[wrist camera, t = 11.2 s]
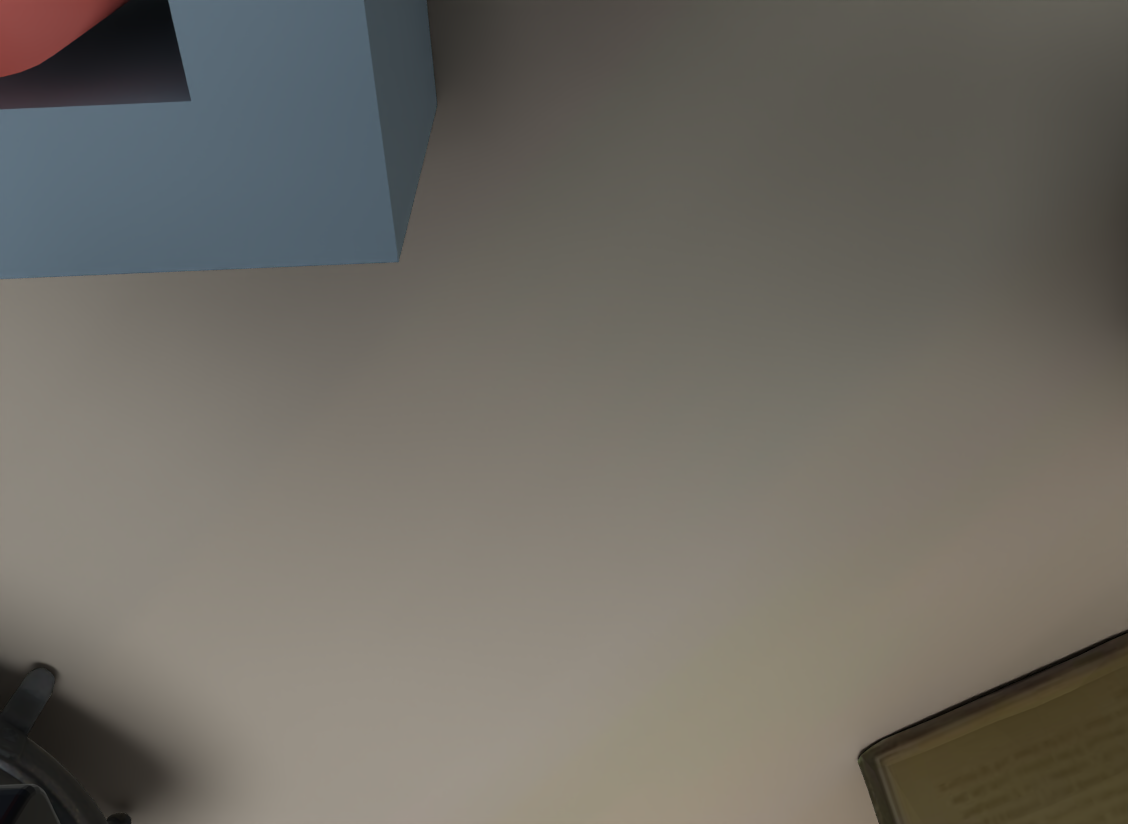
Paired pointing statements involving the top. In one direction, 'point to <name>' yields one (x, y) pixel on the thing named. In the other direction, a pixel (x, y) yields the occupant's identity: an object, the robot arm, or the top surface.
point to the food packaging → (1016, 752)
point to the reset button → (45, 28)
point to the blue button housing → (218, 139)
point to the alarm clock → (42, 756)
